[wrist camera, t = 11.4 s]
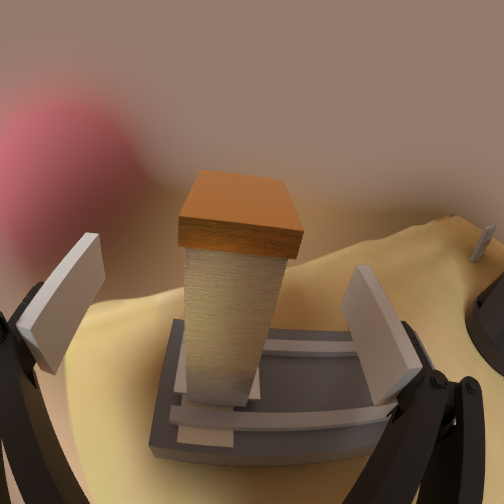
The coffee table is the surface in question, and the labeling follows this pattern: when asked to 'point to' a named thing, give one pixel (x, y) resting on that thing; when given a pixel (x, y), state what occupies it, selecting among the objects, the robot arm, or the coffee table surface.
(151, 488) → the coffee table surface
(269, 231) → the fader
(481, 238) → the cassette
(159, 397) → the console
